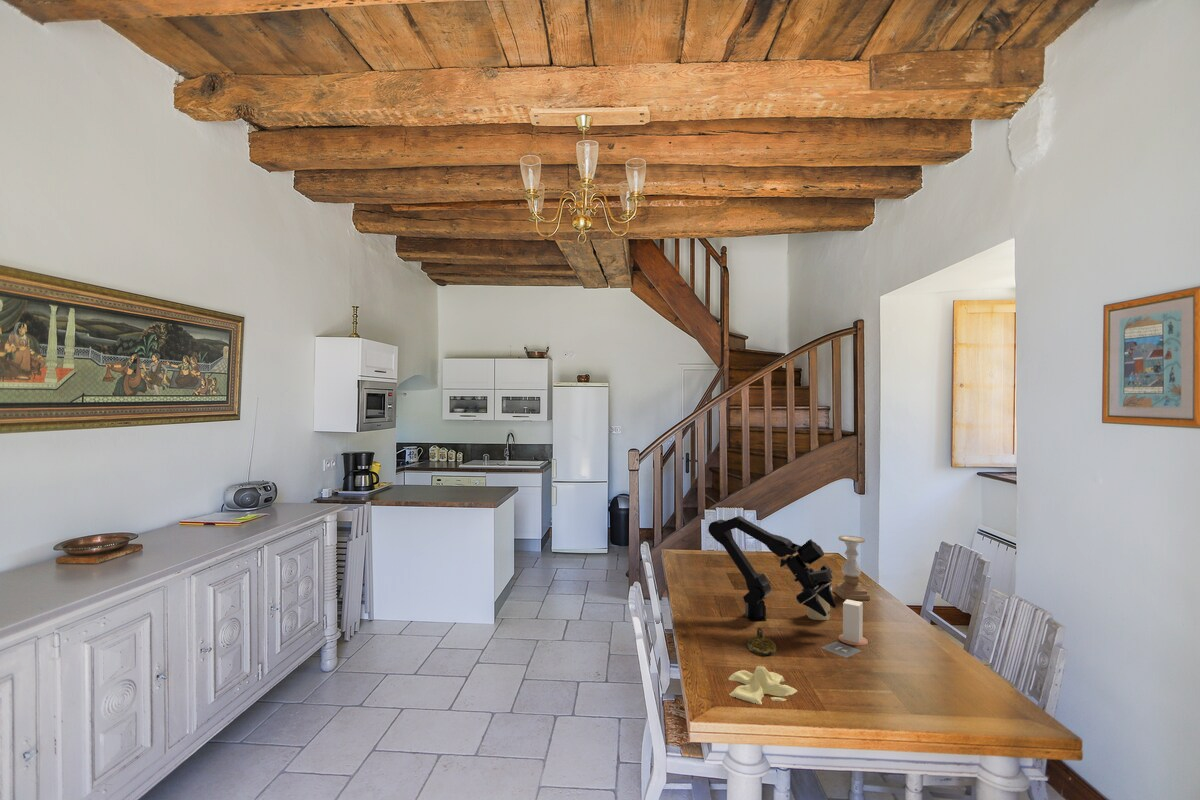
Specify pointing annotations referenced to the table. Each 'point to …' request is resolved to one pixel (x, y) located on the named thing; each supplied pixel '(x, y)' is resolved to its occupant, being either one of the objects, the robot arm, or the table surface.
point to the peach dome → (862, 642)
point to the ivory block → (853, 621)
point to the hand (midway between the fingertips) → (830, 611)
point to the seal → (761, 644)
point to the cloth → (759, 685)
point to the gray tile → (841, 649)
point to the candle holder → (851, 572)
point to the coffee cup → (815, 615)
